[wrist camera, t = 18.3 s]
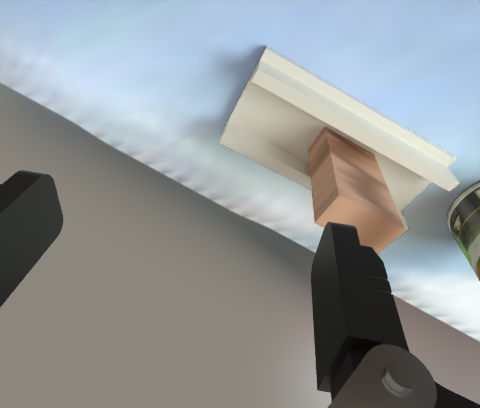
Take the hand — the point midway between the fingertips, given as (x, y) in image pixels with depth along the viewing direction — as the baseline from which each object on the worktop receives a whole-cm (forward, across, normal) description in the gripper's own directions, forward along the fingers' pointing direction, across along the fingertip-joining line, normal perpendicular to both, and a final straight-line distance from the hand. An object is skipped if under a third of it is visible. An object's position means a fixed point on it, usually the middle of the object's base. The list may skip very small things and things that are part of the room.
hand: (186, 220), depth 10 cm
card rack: (+26, -10, +9) cm, 29 cm away
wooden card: (+25, -10, +9) cm, 29 cm away
